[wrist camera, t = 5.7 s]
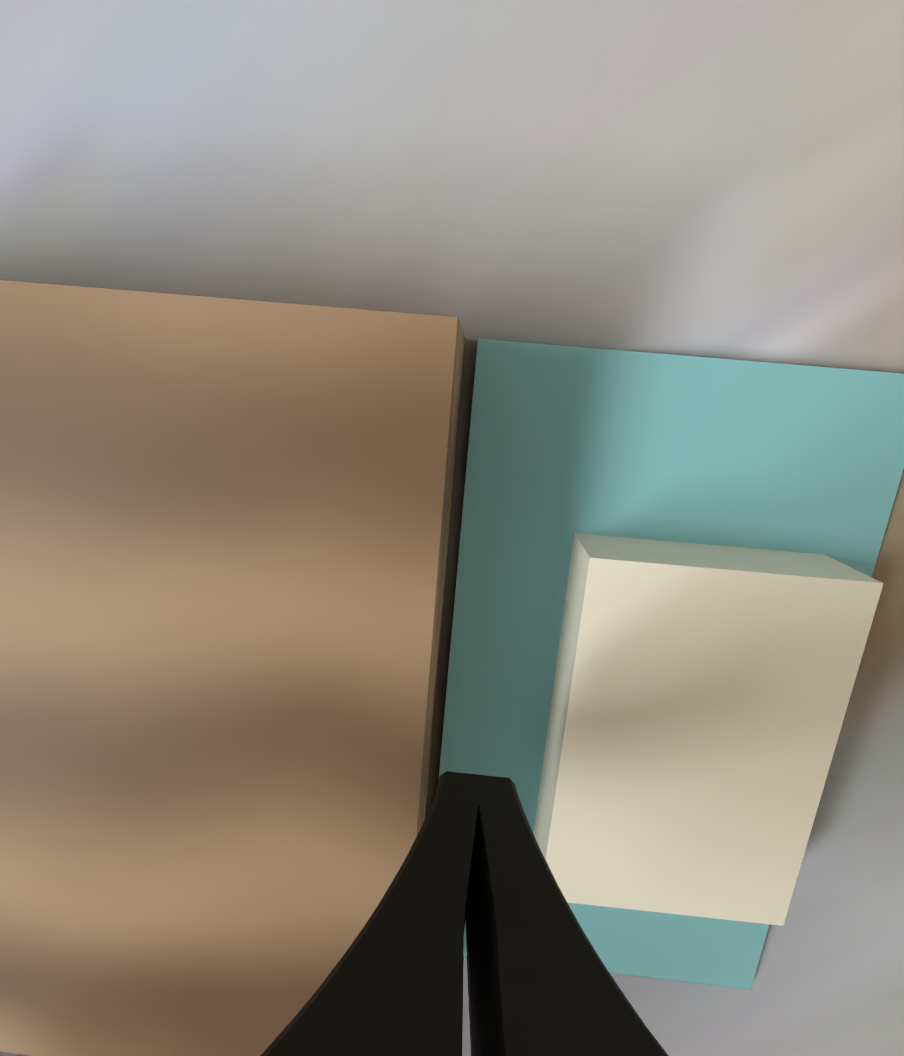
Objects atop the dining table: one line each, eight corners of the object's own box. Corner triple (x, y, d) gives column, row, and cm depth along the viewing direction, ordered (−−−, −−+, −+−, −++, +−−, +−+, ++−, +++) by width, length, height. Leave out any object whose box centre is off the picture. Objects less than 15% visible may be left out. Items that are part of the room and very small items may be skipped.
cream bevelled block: (539, 899, 14) (532, 836, 16) (783, 925, 13) (745, 858, 15) (589, 557, 11) (574, 532, 13) (883, 583, 11) (824, 554, 13)
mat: (746, 978, 17) (750, 989, 17) (424, 941, 17) (423, 950, 17) (920, 375, 12) (930, 375, 12) (477, 339, 13) (478, 338, 12)
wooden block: (414, 940, 17) (394, 1101, 13) (-17, 890, 18) (-157, 1031, 14) (464, 338, 13) (457, 316, 9) (-119, 290, 13) (-372, 250, 9)
